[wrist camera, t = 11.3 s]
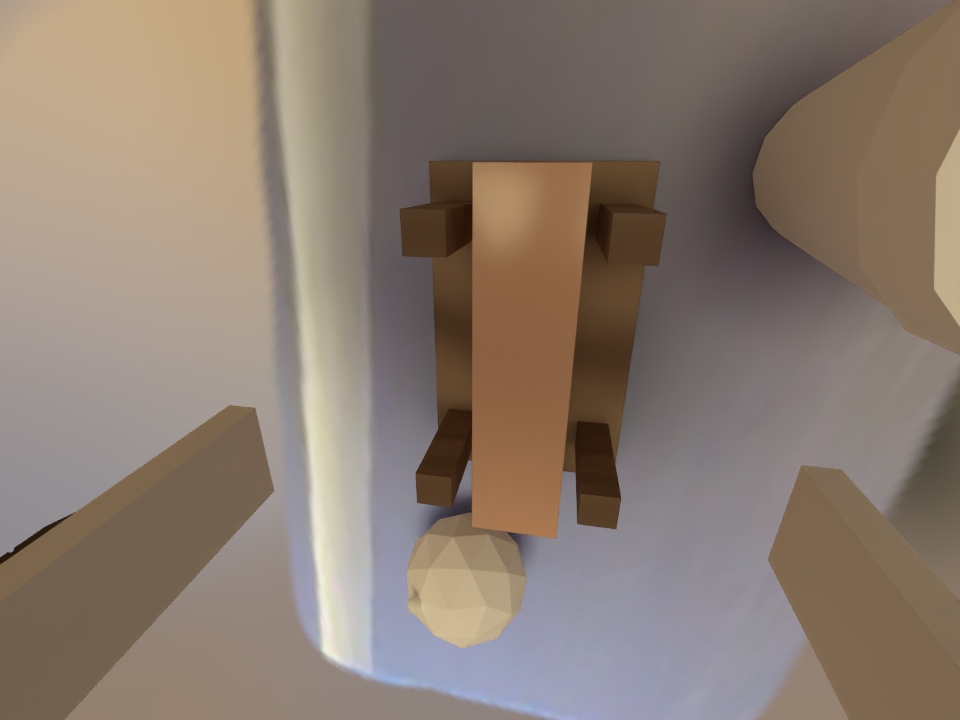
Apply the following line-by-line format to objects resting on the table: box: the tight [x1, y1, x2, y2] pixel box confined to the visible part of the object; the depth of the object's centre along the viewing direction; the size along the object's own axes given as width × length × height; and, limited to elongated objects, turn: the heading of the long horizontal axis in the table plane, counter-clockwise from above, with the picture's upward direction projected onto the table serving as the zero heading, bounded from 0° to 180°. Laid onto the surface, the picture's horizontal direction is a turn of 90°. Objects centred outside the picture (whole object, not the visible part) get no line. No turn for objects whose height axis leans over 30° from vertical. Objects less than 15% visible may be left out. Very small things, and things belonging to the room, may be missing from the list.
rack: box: [400, 161, 667, 529], centre depth 20 cm, size 16×10×8 cm, turn 179°
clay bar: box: [472, 162, 592, 539], centre depth 20 cm, size 16×4×5 cm, turn 179°
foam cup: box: [752, 0, 960, 355], centre depth 13 cm, size 10×9×13 cm
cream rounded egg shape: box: [407, 513, 527, 648], centre depth 27 cm, size 7×7×8 cm
